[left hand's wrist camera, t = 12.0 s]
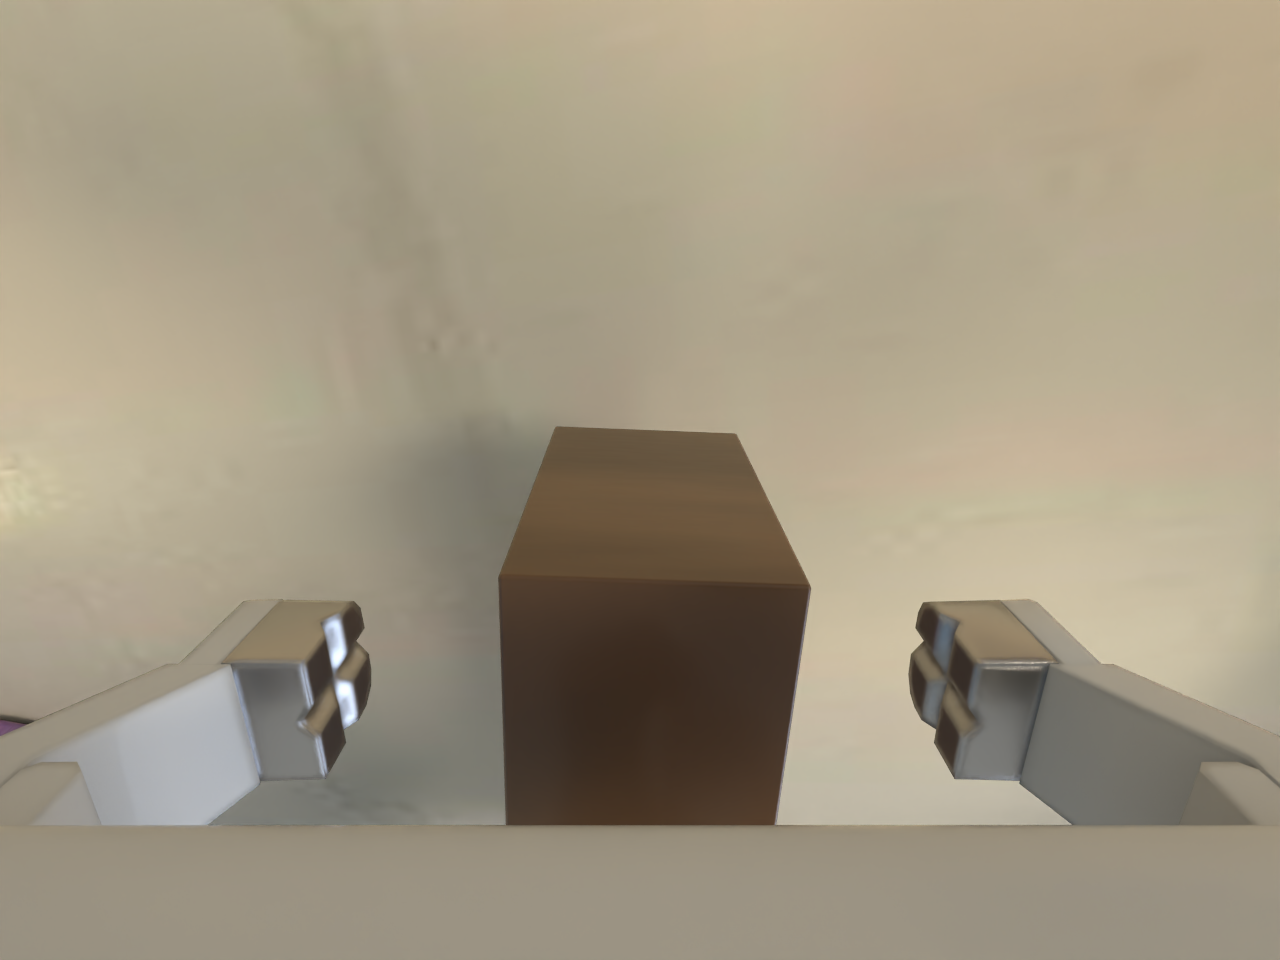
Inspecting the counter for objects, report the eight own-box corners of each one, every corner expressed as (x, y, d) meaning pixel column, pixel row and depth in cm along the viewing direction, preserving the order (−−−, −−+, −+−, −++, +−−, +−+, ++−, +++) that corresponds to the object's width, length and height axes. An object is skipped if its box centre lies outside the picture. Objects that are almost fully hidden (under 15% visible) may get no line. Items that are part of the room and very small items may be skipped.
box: (554, 425, 23) (497, 575, 13) (737, 433, 23) (812, 586, 14) (554, 984, 33) (520, 1311, 23) (683, 987, 33) (704, 1313, 23)
